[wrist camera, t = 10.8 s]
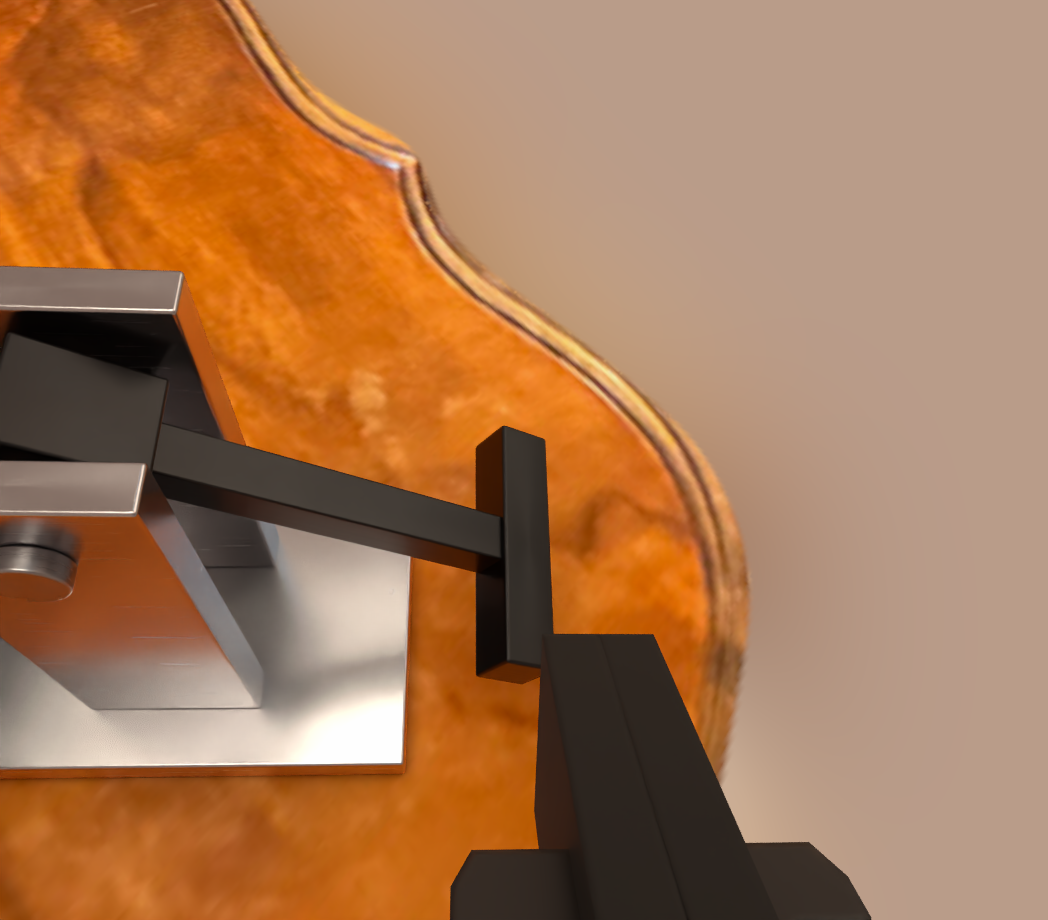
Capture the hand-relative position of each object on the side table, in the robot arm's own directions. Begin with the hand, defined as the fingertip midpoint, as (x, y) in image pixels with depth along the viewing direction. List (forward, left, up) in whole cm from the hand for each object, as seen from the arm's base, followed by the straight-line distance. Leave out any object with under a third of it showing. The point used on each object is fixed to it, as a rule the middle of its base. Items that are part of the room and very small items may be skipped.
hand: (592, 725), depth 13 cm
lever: (+8, -2, -6) cm, 10 cm away
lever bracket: (+11, 0, -14) cm, 17 cm away
